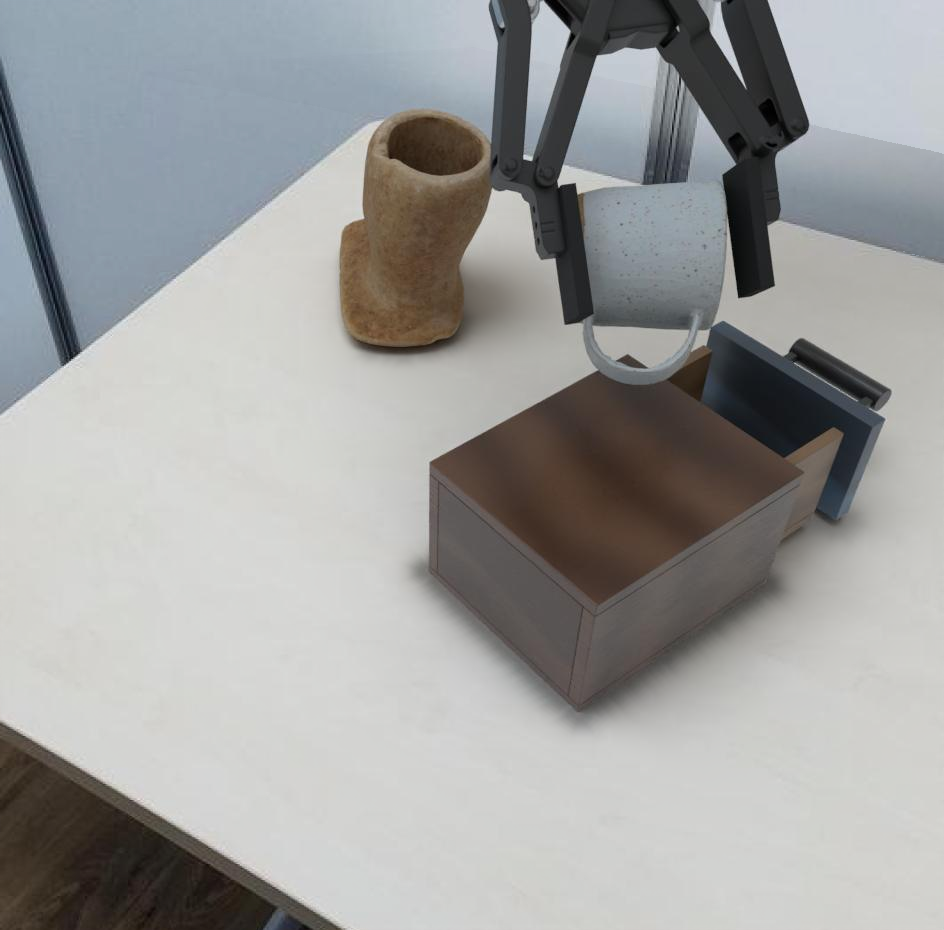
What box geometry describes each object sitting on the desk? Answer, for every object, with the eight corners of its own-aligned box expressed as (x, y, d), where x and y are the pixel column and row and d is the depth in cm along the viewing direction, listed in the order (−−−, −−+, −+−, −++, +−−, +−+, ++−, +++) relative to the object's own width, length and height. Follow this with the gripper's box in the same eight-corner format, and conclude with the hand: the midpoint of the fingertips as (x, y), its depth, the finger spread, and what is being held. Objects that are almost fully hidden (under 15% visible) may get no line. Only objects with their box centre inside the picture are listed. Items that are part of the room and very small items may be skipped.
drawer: (755, 381, 81) (781, 287, 75) (903, 475, 75) (945, 380, 69) (545, 504, 75) (556, 412, 69) (687, 620, 68) (713, 529, 62)
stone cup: (491, 356, 86) (502, 173, 75) (337, 360, 87) (324, 180, 76) (480, 245, 96) (488, 69, 85) (341, 250, 97) (331, 76, 86)
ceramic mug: (557, 274, 67) (569, 153, 61) (698, 275, 66) (724, 153, 60) (561, 392, 60) (575, 269, 54) (718, 395, 60) (750, 270, 54)
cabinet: (608, 468, 78) (627, 353, 70) (764, 587, 70) (805, 472, 63) (428, 574, 72) (428, 461, 65) (577, 715, 65) (597, 605, 57)
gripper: (777, -129, 61) (829, 290, 63) (387, -80, 59) (452, 348, 61) (851, -219, 54) (907, 259, 55) (407, -166, 52) (480, 324, 54)
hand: (668, 305), depth 58 cm, fingers closed on ceramic mug, 9 cm apart
